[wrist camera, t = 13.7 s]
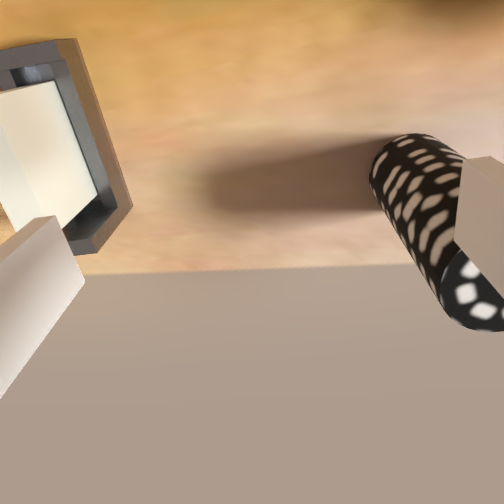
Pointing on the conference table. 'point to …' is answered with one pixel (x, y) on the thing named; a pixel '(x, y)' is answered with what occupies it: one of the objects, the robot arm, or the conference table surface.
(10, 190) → the door panel
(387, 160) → the white-spotted black cylinder
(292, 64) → the conference table surface
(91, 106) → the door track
